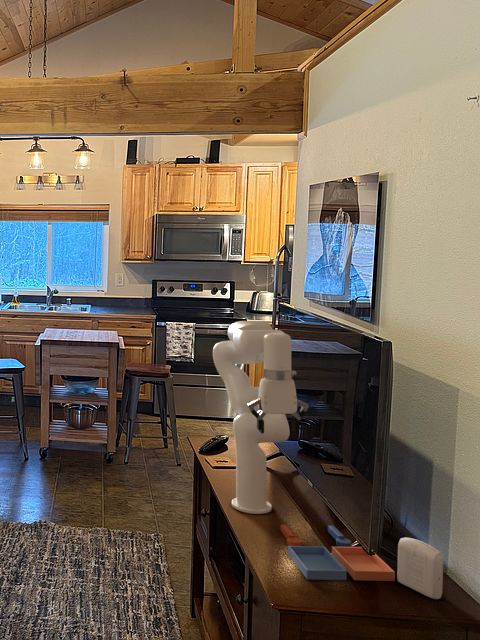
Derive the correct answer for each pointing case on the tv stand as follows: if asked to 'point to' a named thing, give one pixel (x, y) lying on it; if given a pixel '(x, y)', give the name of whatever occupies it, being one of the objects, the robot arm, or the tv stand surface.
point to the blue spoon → (339, 537)
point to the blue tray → (317, 563)
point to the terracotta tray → (363, 564)
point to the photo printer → (420, 567)
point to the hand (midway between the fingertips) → (277, 432)
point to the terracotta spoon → (290, 536)
